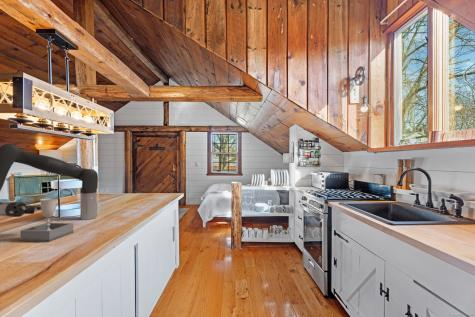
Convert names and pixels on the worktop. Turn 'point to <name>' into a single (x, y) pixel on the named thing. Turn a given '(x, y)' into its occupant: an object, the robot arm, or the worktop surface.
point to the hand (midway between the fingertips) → (41, 209)
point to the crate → (46, 232)
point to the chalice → (48, 209)
